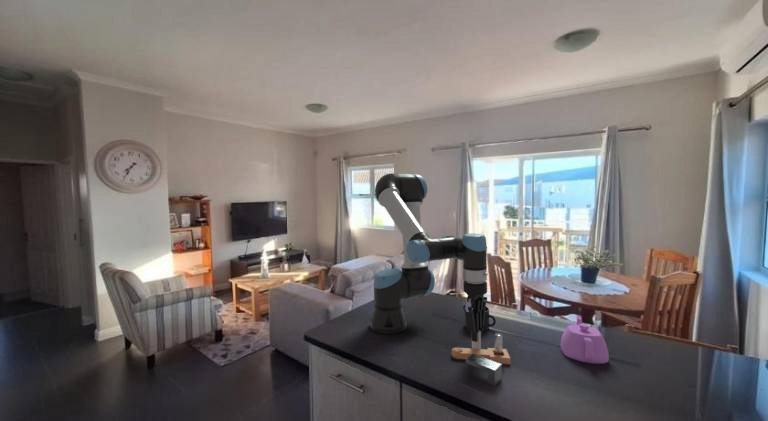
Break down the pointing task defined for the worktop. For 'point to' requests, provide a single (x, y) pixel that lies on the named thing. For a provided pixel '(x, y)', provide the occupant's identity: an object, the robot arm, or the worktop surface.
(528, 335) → the worktop surface
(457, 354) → the link
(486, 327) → the mug
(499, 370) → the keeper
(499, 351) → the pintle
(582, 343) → the teapot
